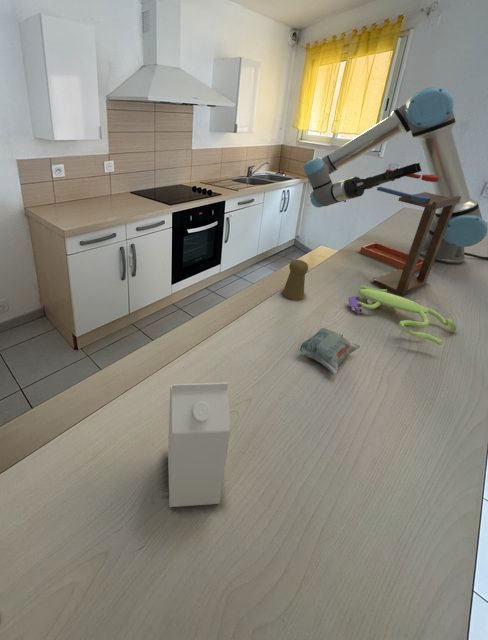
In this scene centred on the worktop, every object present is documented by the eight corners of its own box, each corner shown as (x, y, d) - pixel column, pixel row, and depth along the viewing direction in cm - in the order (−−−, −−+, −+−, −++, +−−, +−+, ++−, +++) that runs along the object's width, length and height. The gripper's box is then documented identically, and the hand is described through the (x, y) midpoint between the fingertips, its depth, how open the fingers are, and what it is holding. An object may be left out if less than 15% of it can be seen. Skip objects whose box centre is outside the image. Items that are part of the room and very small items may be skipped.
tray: (359, 252, 128) (361, 246, 127) (373, 247, 133) (375, 242, 132) (411, 273, 113) (413, 267, 112) (424, 267, 118) (427, 260, 117)
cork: (301, 290, 99) (307, 258, 95) (305, 301, 94) (313, 267, 90) (281, 288, 100) (287, 256, 96) (284, 299, 94) (291, 265, 90)
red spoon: (383, 172, 108) (384, 168, 107) (390, 171, 110) (391, 167, 109) (434, 182, 96) (436, 178, 95) (440, 181, 98) (442, 176, 98)
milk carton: (167, 456, 51) (170, 363, 43) (212, 453, 52) (222, 362, 44) (169, 508, 44) (173, 409, 37) (219, 504, 45) (233, 407, 38)
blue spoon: (373, 190, 101) (374, 186, 100) (382, 189, 103) (384, 185, 102) (423, 203, 88) (424, 198, 88) (432, 202, 90) (434, 197, 90)
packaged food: (357, 355, 74) (362, 338, 72) (333, 381, 66) (338, 363, 64) (321, 336, 80) (325, 319, 78) (295, 358, 72) (299, 340, 70)
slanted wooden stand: (372, 283, 105) (400, 194, 94) (397, 272, 113) (425, 188, 102) (402, 297, 98) (437, 202, 86) (427, 284, 106) (461, 196, 94)
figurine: (424, 361, 73) (433, 342, 71) (330, 300, 95) (334, 283, 93) (467, 339, 81) (476, 321, 79) (371, 287, 103) (376, 272, 100)
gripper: (362, 196, 125) (431, 177, 104) (339, 200, 117) (410, 180, 97) (357, 178, 125) (425, 154, 105) (334, 181, 117) (403, 156, 97)
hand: (418, 167), depth 101 cm, fingers closed on red spoon, 2 cm apart
